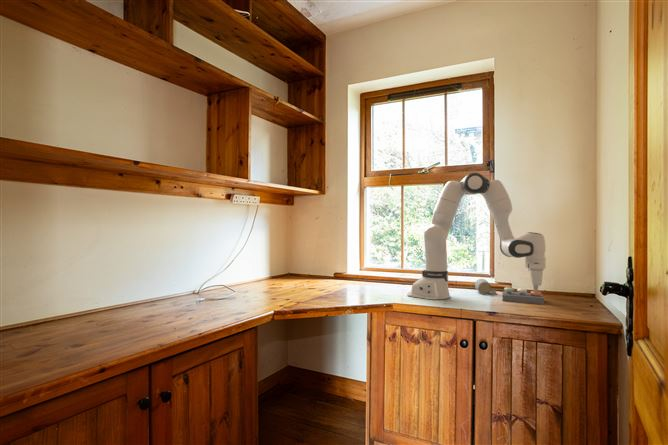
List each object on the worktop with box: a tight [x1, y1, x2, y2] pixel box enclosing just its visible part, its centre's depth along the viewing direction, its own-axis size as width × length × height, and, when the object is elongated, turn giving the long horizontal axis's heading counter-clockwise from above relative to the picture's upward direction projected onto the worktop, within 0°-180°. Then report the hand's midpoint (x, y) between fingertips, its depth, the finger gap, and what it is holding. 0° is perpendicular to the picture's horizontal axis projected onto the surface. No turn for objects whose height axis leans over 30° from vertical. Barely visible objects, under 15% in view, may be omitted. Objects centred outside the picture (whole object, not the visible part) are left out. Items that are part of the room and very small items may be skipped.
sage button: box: [503, 286, 515, 294], centre depth 177 cm, size 4×4×4 cm
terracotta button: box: [530, 290, 542, 296], centre depth 172 cm, size 4×4×4 cm
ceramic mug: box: [474, 278, 497, 295], centre depth 193 cm, size 11×8×8 cm
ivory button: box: [516, 287, 528, 295], centre depth 175 cm, size 4×4×4 cm
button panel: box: [501, 290, 545, 305], centre depth 174 cm, size 18×12×3 cm, turn 63°
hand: (535, 291), depth 172 cm, fingers closed
